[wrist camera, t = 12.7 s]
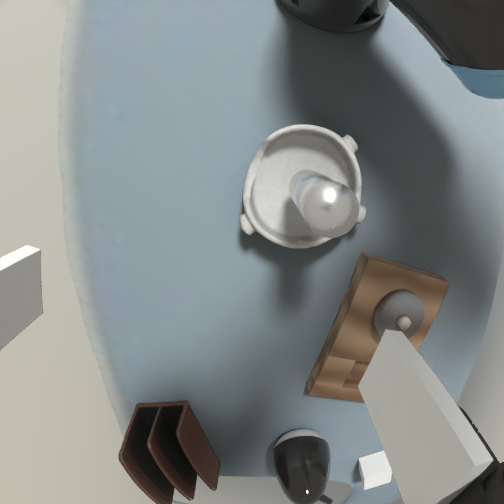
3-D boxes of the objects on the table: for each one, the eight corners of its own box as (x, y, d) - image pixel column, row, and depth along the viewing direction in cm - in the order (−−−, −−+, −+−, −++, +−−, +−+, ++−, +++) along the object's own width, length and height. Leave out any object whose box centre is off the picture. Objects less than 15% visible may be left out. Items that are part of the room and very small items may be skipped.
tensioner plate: (361, 252, 39) (378, 268, 33) (440, 275, 40) (461, 292, 34) (306, 382, 45) (311, 409, 39) (380, 391, 46) (392, 415, 40)
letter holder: (176, 463, 53) (164, 515, 40) (136, 402, 48) (111, 460, 34) (221, 462, 52) (215, 518, 39) (187, 399, 47) (171, 464, 33)
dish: (240, 237, 39) (238, 249, 34) (243, 124, 35) (241, 119, 30) (353, 242, 39) (366, 253, 34) (361, 133, 35) (376, 130, 30)
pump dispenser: (305, 457, 51) (312, 518, 37) (260, 444, 50) (261, 510, 35) (338, 429, 49) (354, 494, 34) (292, 414, 47) (300, 486, 33)
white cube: (358, 457, 52) (364, 478, 46) (384, 449, 52) (392, 469, 46) (359, 470, 54) (364, 490, 48) (384, 462, 53) (390, 481, 47)
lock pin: (295, 164, 31) (314, 174, 20) (331, 176, 31) (366, 193, 21) (283, 200, 32) (296, 228, 22) (319, 211, 33) (347, 244, 22)
